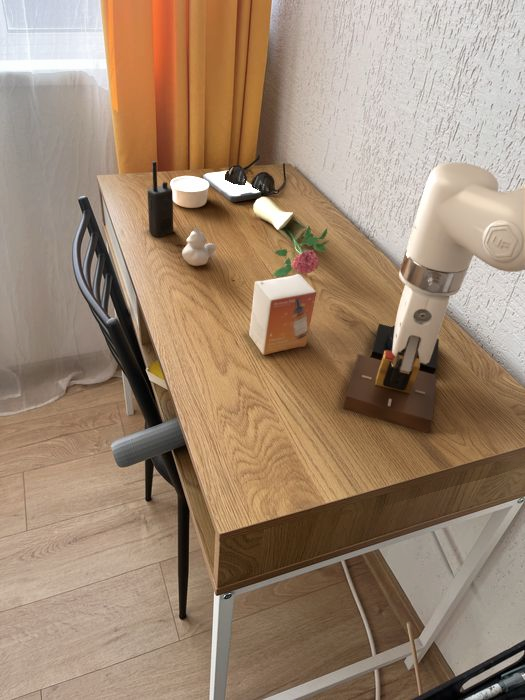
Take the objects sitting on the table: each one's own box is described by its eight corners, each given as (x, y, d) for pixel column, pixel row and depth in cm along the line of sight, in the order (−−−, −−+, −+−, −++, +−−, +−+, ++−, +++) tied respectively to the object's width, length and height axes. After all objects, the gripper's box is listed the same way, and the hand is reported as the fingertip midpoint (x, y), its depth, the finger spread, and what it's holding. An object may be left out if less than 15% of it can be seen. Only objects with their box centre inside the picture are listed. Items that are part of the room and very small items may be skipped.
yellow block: (410, 384, 76) (420, 357, 73) (409, 393, 75) (420, 366, 72) (376, 376, 77) (385, 348, 74) (375, 385, 76) (383, 357, 72)
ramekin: (215, 199, 126) (215, 181, 123) (197, 212, 119) (198, 194, 116) (182, 190, 128) (182, 172, 125) (163, 203, 121) (163, 185, 118)
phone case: (201, 179, 134) (231, 203, 124) (201, 173, 133) (232, 197, 123) (231, 175, 138) (263, 198, 128) (231, 169, 137) (263, 192, 127)
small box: (262, 356, 82) (269, 300, 76) (248, 335, 86) (253, 280, 79) (307, 346, 85) (317, 291, 79) (291, 326, 89) (299, 272, 82)
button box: (435, 349, 88) (442, 330, 85) (432, 378, 82) (440, 359, 79) (376, 333, 90) (381, 314, 87) (369, 361, 84) (374, 342, 81)
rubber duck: (179, 257, 103) (179, 219, 98) (212, 254, 105) (213, 217, 100) (185, 271, 99) (185, 233, 94) (219, 268, 101) (221, 230, 96)
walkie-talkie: (165, 226, 113) (163, 155, 103) (175, 232, 111) (174, 161, 101) (146, 232, 110) (143, 160, 100) (156, 238, 108) (154, 166, 99)
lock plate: (431, 387, 80) (436, 374, 79) (427, 432, 73) (432, 419, 71) (354, 366, 83) (358, 353, 81) (342, 408, 75) (346, 395, 73)
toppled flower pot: (275, 250, 124) (336, 305, 95) (227, 237, 119) (276, 290, 90) (292, 201, 120) (361, 242, 91) (243, 185, 115) (300, 224, 86)
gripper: (466, 312, 57) (418, 426, 69) (462, 247, 69) (422, 353, 81) (397, 296, 58) (362, 411, 70) (405, 235, 71) (374, 342, 82)
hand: (394, 379), depth 75 cm, fingers closed on yellow block, 2 cm apart
